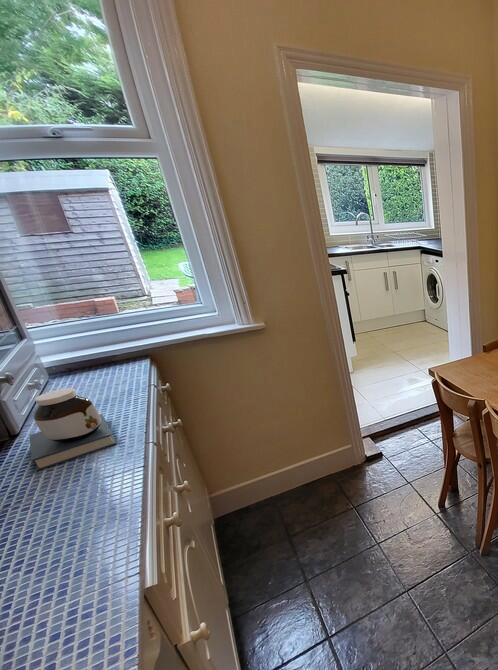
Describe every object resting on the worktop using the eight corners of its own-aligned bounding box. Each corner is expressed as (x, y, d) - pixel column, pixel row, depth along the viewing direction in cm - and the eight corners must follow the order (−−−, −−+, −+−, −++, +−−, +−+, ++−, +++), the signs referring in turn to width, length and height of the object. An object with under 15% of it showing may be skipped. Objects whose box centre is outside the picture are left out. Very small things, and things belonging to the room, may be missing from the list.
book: (35, 445, 106) (29, 435, 105) (107, 423, 116) (102, 413, 114) (38, 470, 95) (30, 460, 94) (116, 444, 104) (111, 434, 103)
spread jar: (71, 446, 99) (45, 403, 94) (29, 446, 100) (2, 404, 95) (118, 421, 109) (97, 381, 105) (80, 421, 110) (58, 382, 106)
